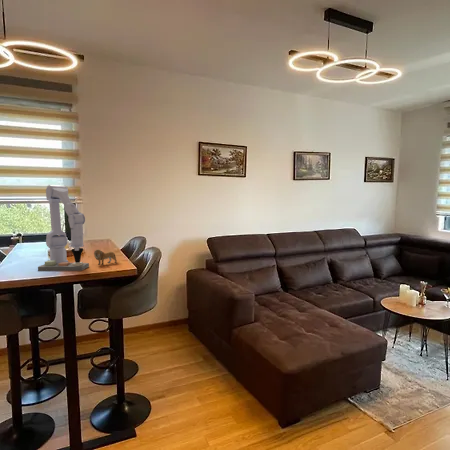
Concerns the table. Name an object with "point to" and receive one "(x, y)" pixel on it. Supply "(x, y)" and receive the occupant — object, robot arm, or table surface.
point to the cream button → (77, 264)
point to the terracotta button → (64, 263)
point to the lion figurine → (104, 256)
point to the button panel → (63, 267)
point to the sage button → (50, 263)
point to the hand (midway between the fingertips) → (77, 262)
